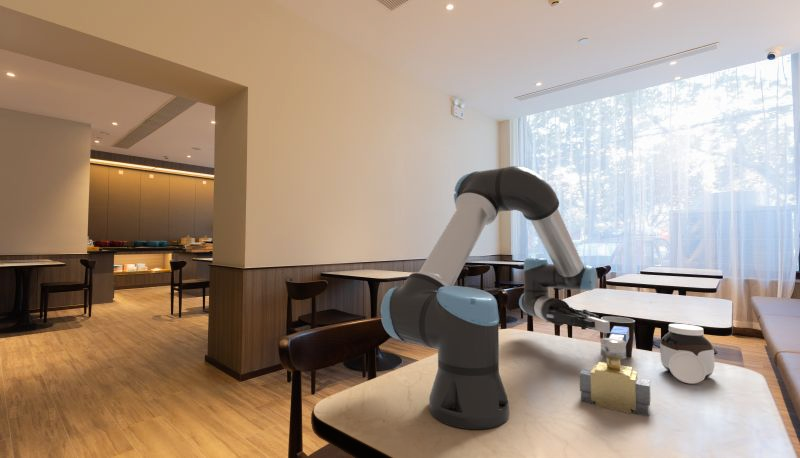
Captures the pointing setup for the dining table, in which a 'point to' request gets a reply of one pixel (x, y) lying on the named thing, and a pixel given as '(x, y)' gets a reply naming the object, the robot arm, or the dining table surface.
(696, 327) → the spread jar
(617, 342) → the lever
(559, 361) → the dining table surface
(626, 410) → the valve body
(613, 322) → the coffee mug
